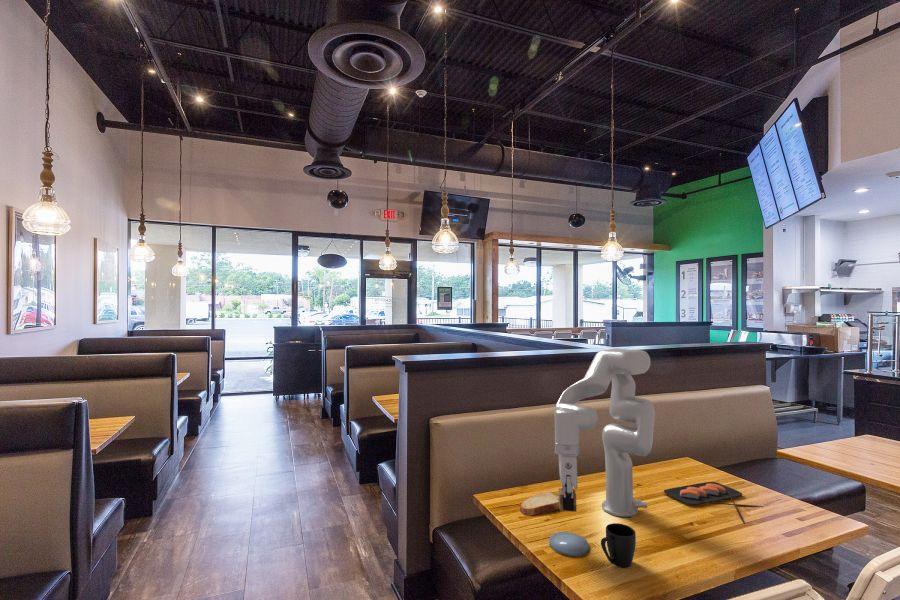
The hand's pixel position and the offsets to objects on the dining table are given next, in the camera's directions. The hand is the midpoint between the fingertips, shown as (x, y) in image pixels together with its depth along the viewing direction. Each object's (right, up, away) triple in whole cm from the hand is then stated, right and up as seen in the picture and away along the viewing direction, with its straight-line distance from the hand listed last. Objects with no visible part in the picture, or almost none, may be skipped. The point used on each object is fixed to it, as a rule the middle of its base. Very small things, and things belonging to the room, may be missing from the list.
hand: (567, 505), depth 136 cm
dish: (0, -13, 0) cm, 13 cm away
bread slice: (-1, -14, +27) cm, 31 cm away
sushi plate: (+67, -14, +29) cm, 74 cm away
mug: (+12, -12, -11) cm, 20 cm away
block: (0, -1, 0) cm, 1 cm away
